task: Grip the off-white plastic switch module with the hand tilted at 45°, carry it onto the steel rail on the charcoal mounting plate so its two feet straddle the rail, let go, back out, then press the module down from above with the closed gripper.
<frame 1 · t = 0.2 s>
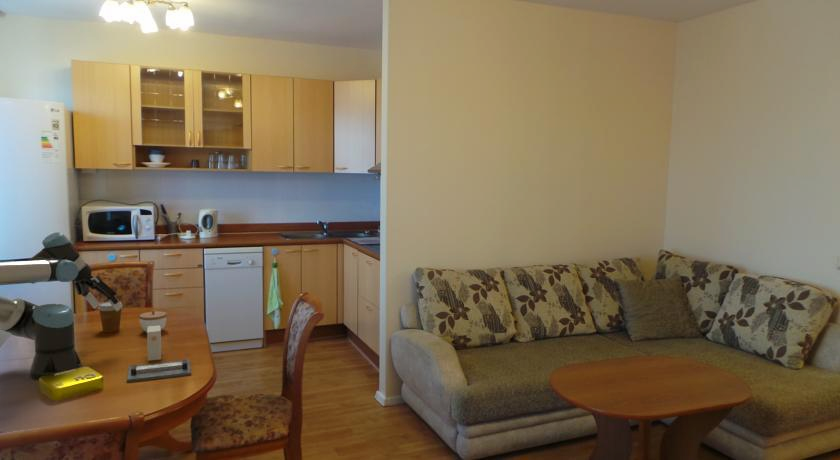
hand: (108, 307, 227), 15 cm above the table, tool tilted 35°, fingers open, 13 cm apart
disposable coffee cup: (111, 330, 248), on the table
element tile: (71, 390, 185), on the table
switch module: (154, 356, 216), on the table
lidded jar: (153, 332, 248), on the table
mounting plate: (159, 371, 201), on the table
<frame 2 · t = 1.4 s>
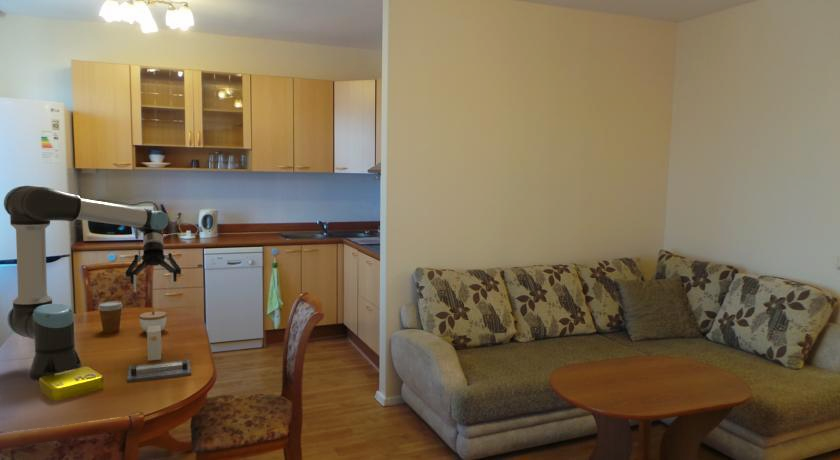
hand: (154, 289, 224), 24 cm above the table, tool tilted 45°, fingers open, 13 cm apart
nothing on the table moved.
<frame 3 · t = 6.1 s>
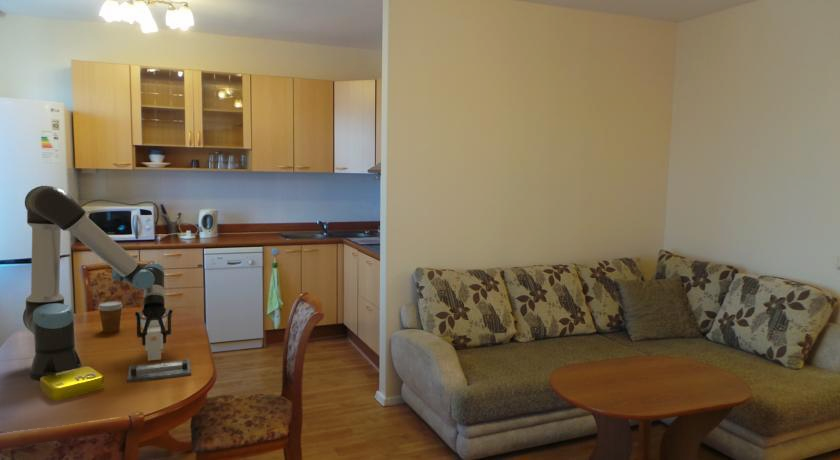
hand: (154, 351, 213), 3 cm above the table, tool tilted 45°, fingers closed on switch module, 4 cm apart
switch module: (154, 356, 216), on the table, touching gripper
everything else where it was.
when the fingers open (6 cm above the table, at t = 12.0 s): switch module drops 1 cm, resting on mounting plate.
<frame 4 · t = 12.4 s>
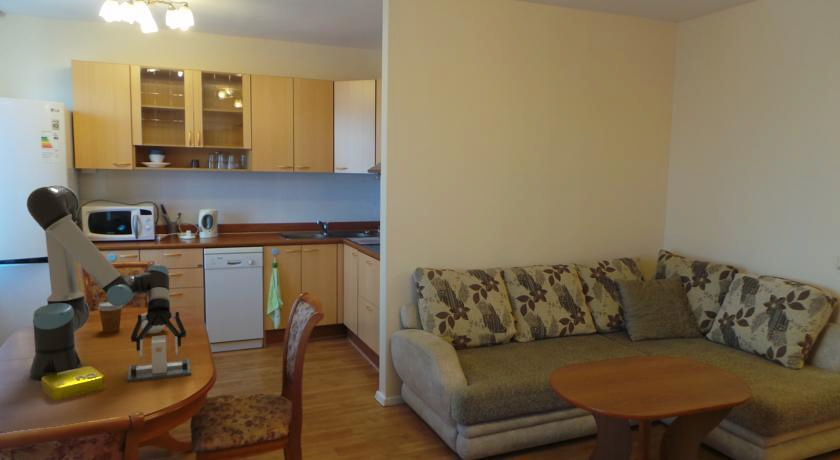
hand: (159, 356, 198), 7 cm above the table, tool tilted 45°, fingers open, 10 cm apart
switch module: (159, 369, 201), point 1 cm above the table, touching mounting plate
everything else where it was.
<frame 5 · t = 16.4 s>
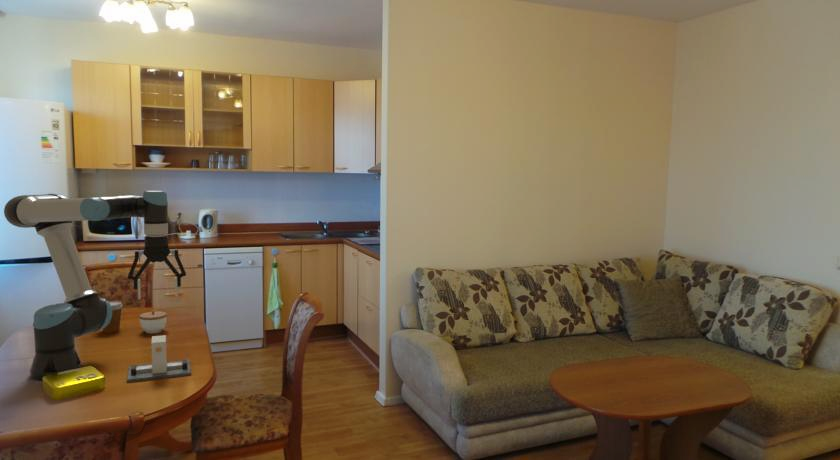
hand: (158, 297, 198), 27 cm above the table, tool pointing down, fingers open, 11 cm apart
nothing on the table moved.
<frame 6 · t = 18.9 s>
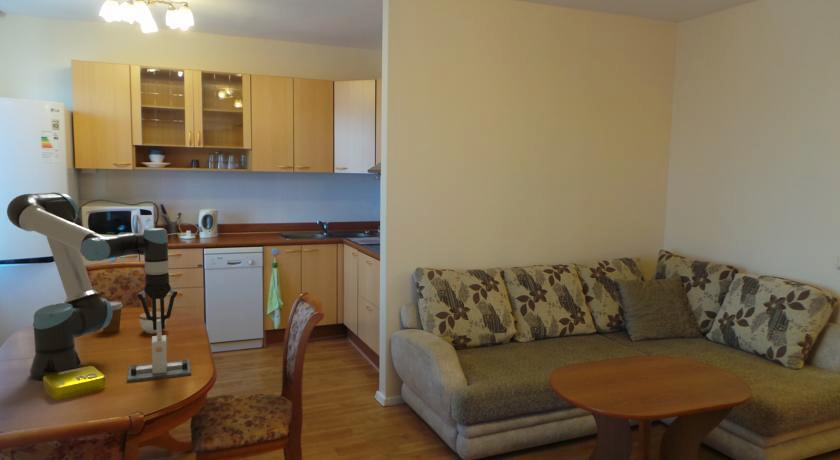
hand: (159, 338, 200), 12 cm above the table, tool pointing down, fingers closed
switch module: (159, 368, 201), point 1 cm above the table, touching gripper, mounting plate
everything else where it was.
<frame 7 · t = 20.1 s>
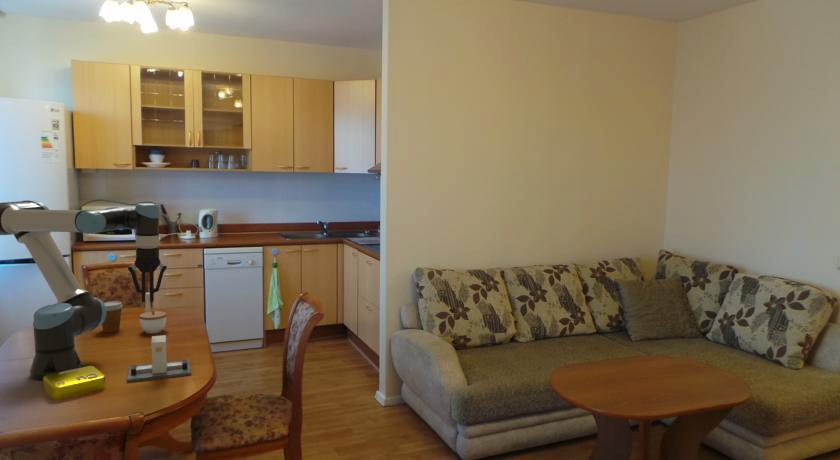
hand: (147, 310, 205), 20 cm above the table, tool pointing down, fingers closed
switch module: (159, 369, 201), point 1 cm above the table, touching mounting plate
everything else where it was.
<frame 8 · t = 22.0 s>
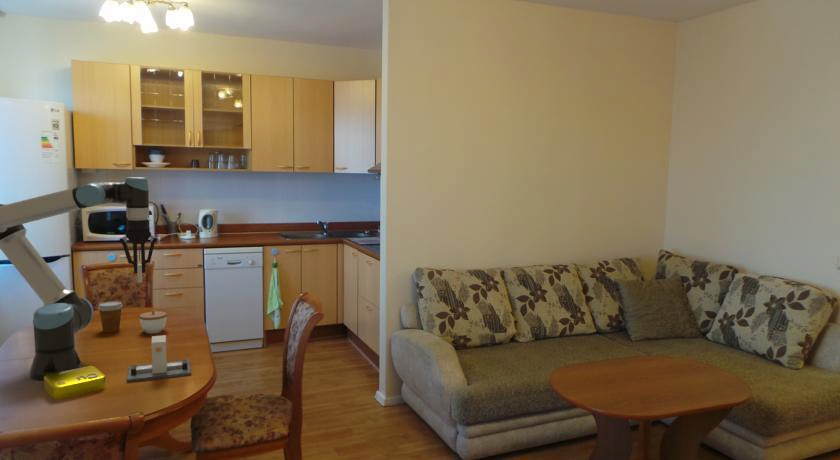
hand: (140, 281, 212), 29 cm above the table, tool pointing down, fingers closed
at the end: switch module 0.1 cm off-centre on the mounting plate, point 1.0 cm above the mounting plate's base; switch module tilted 0°; the gripper is holding nothing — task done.
